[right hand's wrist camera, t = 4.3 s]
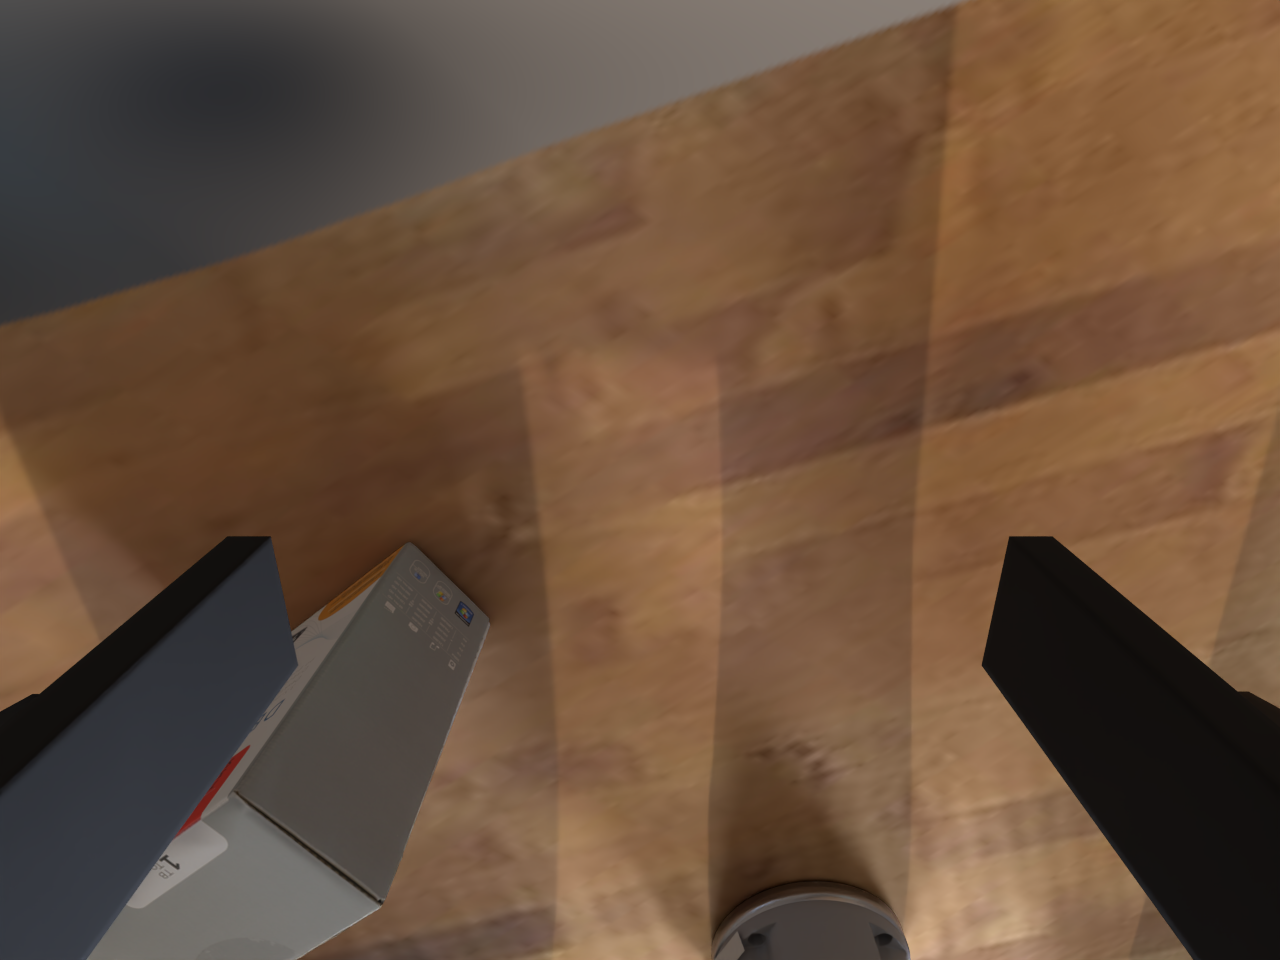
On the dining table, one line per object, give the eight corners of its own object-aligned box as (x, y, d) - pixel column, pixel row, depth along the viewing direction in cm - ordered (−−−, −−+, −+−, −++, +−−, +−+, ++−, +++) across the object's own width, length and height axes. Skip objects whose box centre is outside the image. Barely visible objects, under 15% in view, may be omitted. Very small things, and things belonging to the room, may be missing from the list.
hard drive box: (409, 534, 43) (239, 789, 25) (495, 619, 46) (397, 910, 27) (241, 666, 47) (-17, 974, 29) (328, 738, 49) (141, 1068, 31)
